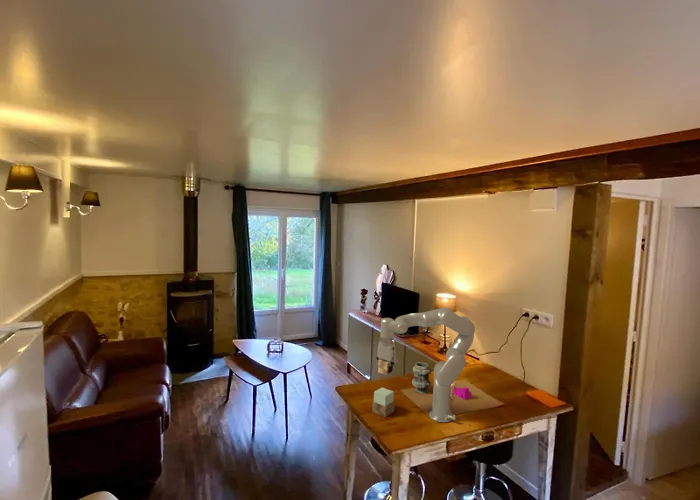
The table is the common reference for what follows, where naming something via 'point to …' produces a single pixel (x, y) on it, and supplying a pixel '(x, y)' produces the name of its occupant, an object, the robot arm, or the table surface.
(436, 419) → the robot arm
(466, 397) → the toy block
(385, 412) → the walnut base block
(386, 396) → the sage top block
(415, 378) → the apothecary jar
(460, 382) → the table surface
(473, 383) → the table surface
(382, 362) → the oak block
